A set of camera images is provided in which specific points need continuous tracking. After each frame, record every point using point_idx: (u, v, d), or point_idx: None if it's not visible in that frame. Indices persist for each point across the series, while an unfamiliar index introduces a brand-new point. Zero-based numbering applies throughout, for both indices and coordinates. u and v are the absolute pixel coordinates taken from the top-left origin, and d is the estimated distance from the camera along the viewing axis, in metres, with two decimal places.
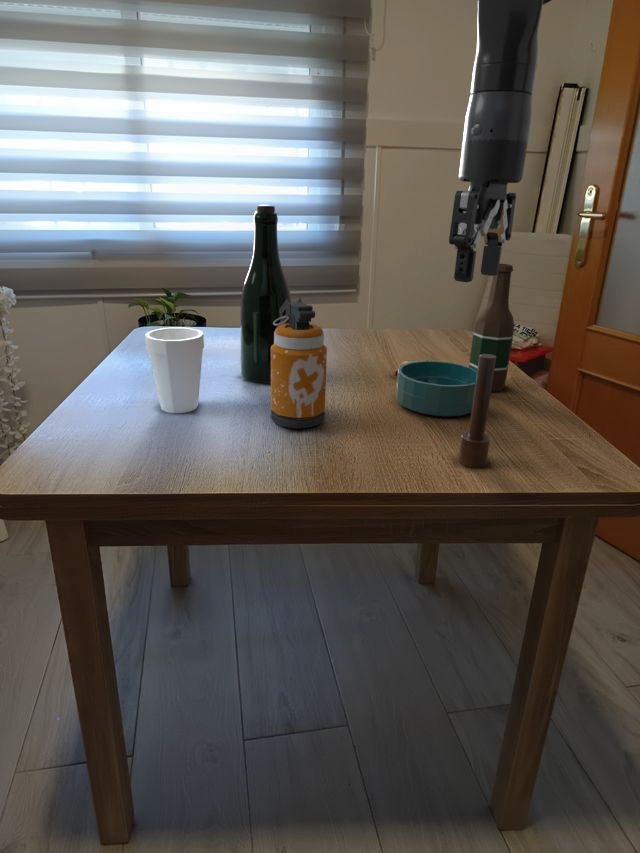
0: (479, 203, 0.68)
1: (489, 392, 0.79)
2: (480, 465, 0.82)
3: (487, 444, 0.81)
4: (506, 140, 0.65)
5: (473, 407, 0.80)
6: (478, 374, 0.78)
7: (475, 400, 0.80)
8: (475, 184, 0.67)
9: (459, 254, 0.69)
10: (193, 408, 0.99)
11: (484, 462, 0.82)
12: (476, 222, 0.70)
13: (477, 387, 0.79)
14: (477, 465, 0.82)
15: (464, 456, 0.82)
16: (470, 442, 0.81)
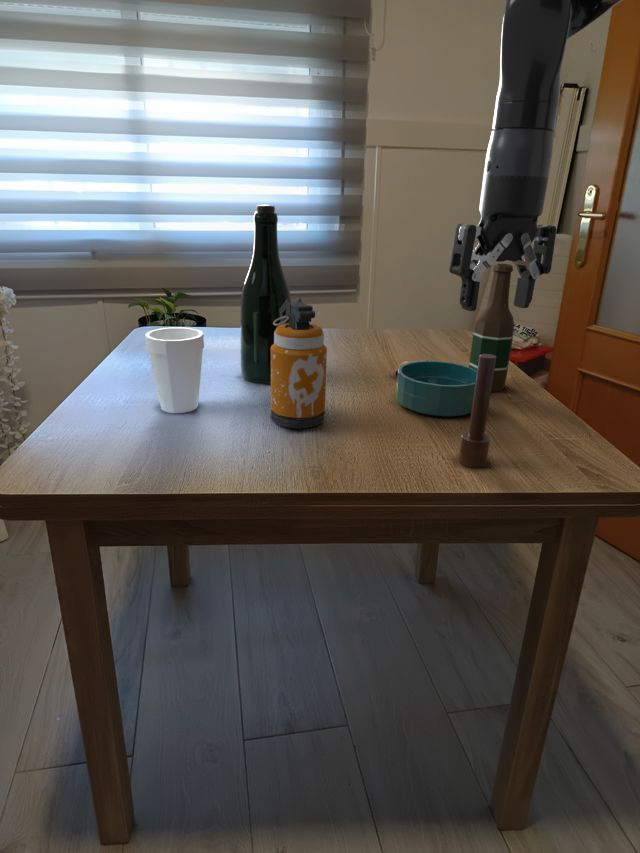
0: (483, 236, 0.69)
1: (489, 392, 0.79)
2: (480, 465, 0.82)
3: (487, 444, 0.81)
4: (510, 176, 0.66)
5: (473, 407, 0.80)
6: (478, 374, 0.78)
7: (475, 400, 0.80)
8: (483, 217, 0.70)
9: (463, 283, 0.72)
10: (193, 408, 0.99)
11: (484, 462, 0.82)
12: (487, 254, 0.71)
13: (477, 387, 0.79)
14: (477, 465, 0.82)
15: (464, 456, 0.82)
16: (470, 442, 0.81)
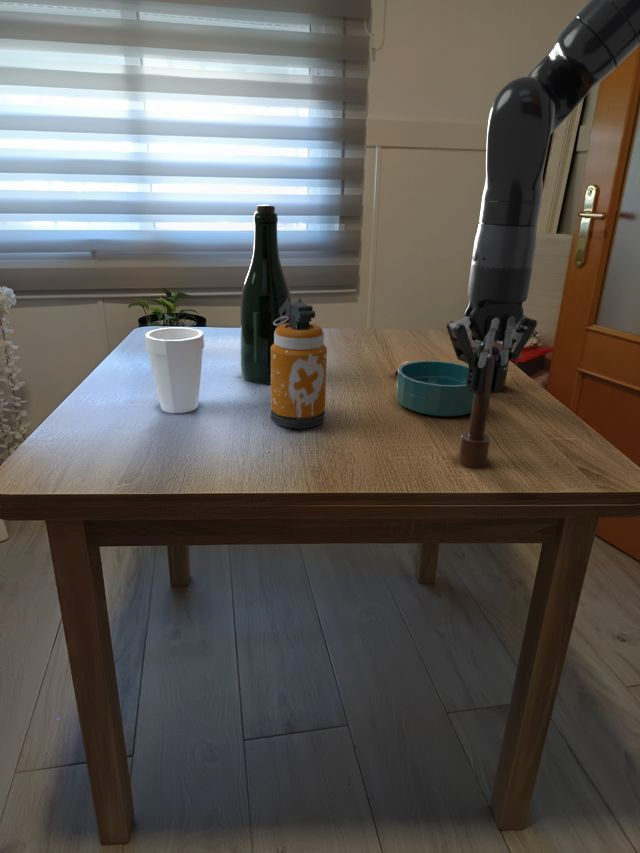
0: (472, 320, 0.73)
1: (489, 392, 0.79)
2: (480, 465, 0.82)
3: (487, 444, 0.81)
4: (496, 268, 0.70)
5: (473, 407, 0.80)
6: None
7: (475, 400, 0.80)
8: (471, 302, 0.74)
9: (469, 368, 0.78)
10: (193, 408, 0.99)
11: (484, 462, 0.82)
12: (475, 335, 0.75)
13: None
14: (477, 465, 0.82)
15: (464, 456, 0.82)
16: (470, 442, 0.81)
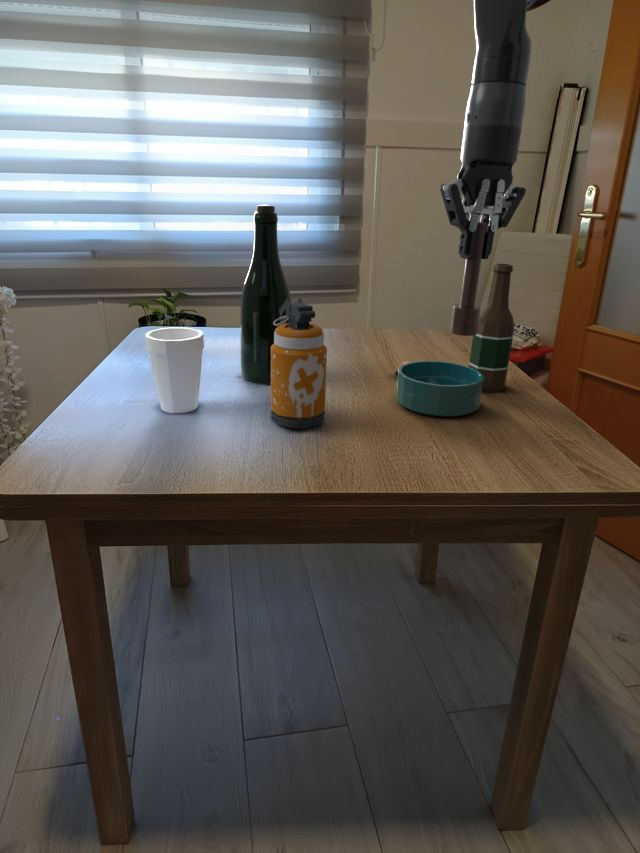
0: (464, 181, 0.77)
1: (479, 258, 0.83)
2: (471, 333, 0.86)
3: (478, 312, 0.85)
4: (487, 125, 0.74)
5: (464, 275, 0.84)
6: None
7: (466, 267, 0.84)
8: (463, 164, 0.77)
9: (461, 234, 0.82)
10: (193, 408, 0.99)
11: (475, 330, 0.86)
12: (467, 199, 0.79)
13: None
14: (468, 333, 0.86)
15: (455, 325, 0.86)
16: (461, 310, 0.85)
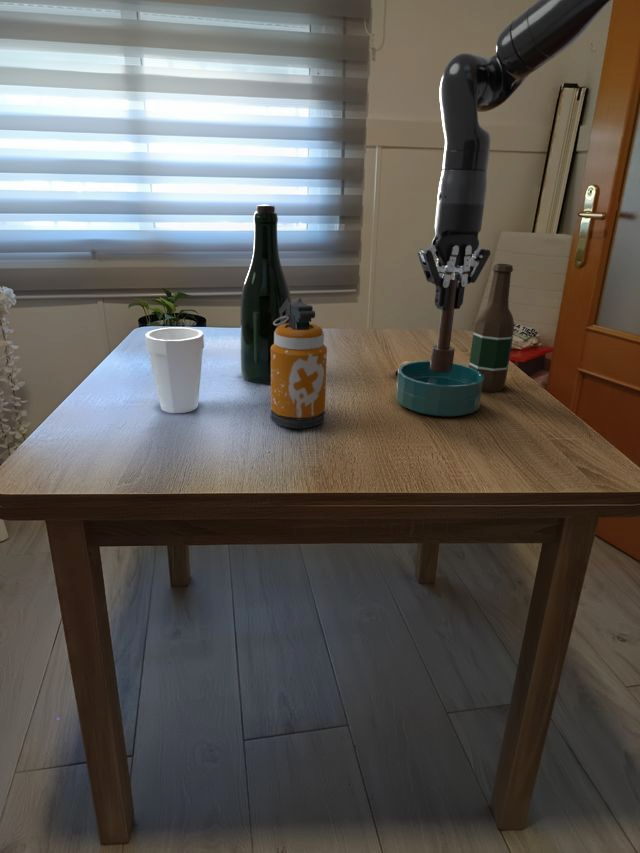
0: (437, 247, 0.93)
1: (452, 308, 0.98)
2: (446, 370, 1.02)
3: (452, 352, 1.01)
4: (455, 204, 0.90)
5: (440, 322, 1.00)
6: None
7: (442, 316, 0.99)
8: (437, 233, 0.93)
9: (436, 289, 0.97)
10: (193, 408, 0.99)
11: (450, 368, 1.02)
12: (441, 261, 0.95)
13: None
14: (444, 370, 1.02)
15: (433, 363, 1.02)
16: (438, 351, 1.01)
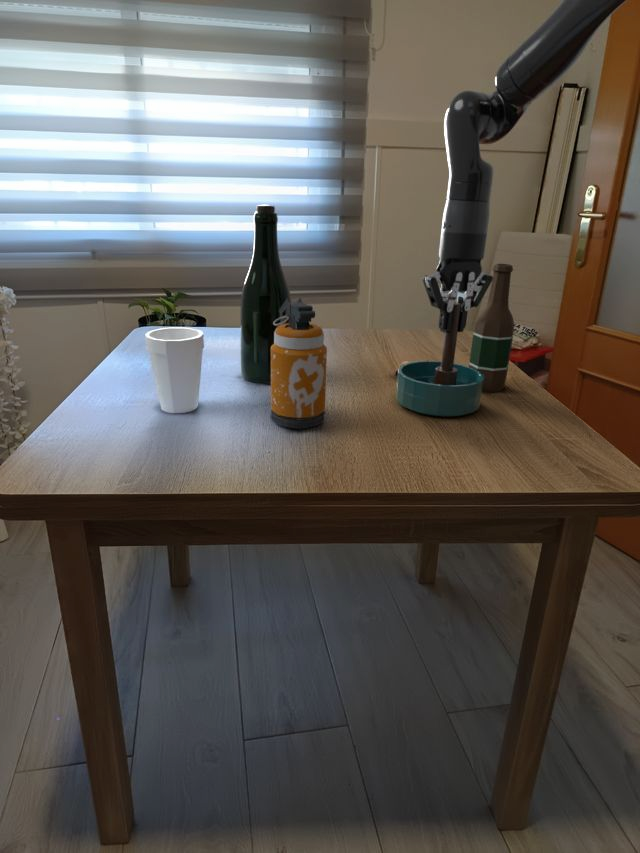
0: (441, 274, 0.96)
1: (456, 332, 1.02)
2: None
3: (455, 374, 1.04)
4: (459, 233, 0.93)
5: (444, 344, 1.03)
6: None
7: (445, 339, 1.03)
8: (441, 260, 0.96)
9: (440, 313, 1.01)
10: (193, 408, 0.99)
11: None
12: (445, 286, 0.98)
13: None
14: None
15: None
16: (441, 372, 1.04)
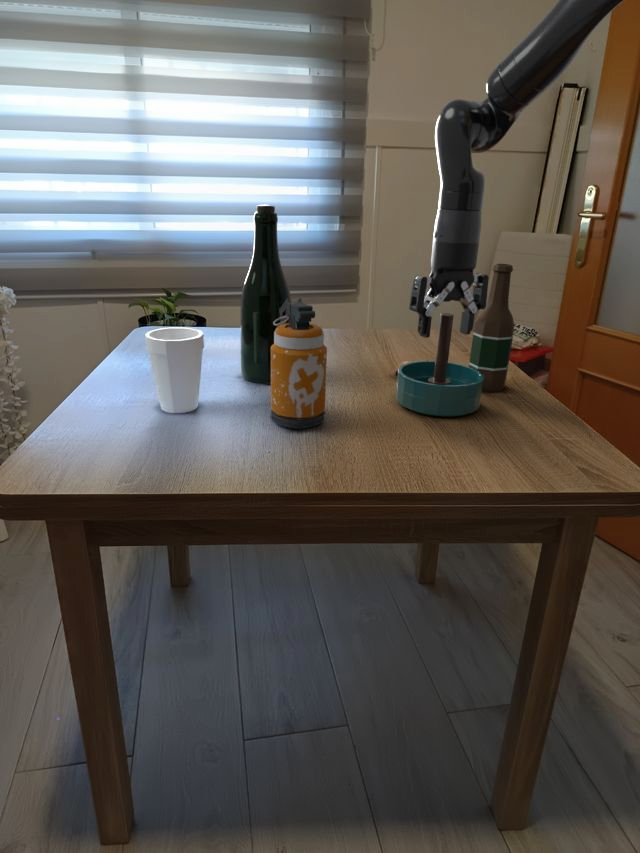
0: (433, 284, 0.95)
1: (448, 343, 1.01)
2: None
3: None
4: (450, 242, 0.92)
5: (436, 355, 1.02)
6: (440, 329, 1.00)
7: (438, 350, 1.02)
8: (433, 270, 0.96)
9: (419, 317, 0.98)
10: (193, 408, 0.99)
11: None
12: (437, 296, 0.97)
13: (439, 339, 1.01)
14: None
15: None
16: (434, 383, 1.03)
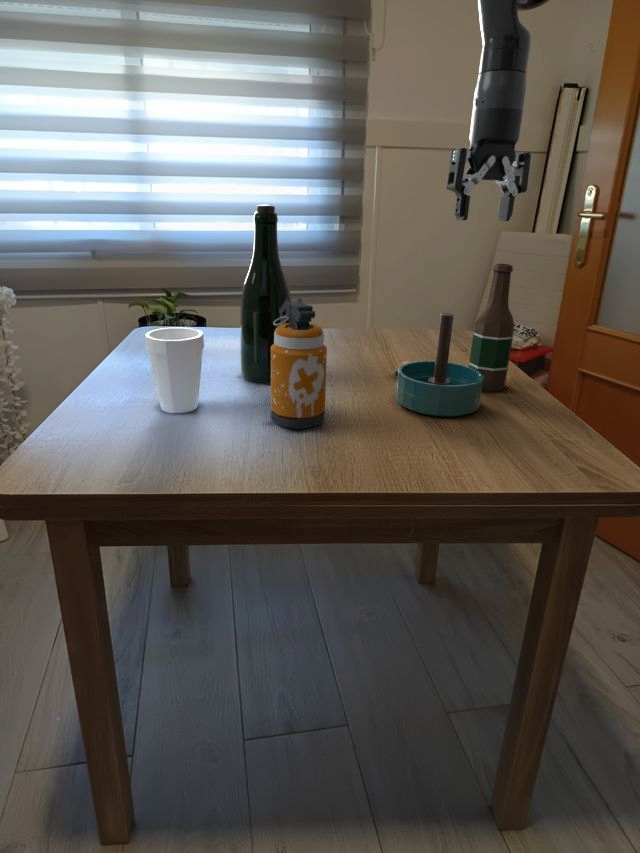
0: (472, 158, 0.89)
1: (448, 343, 1.01)
2: None
3: None
4: (493, 108, 0.85)
5: (436, 355, 1.02)
6: (440, 329, 1.00)
7: (438, 350, 1.02)
8: (472, 143, 0.89)
9: (457, 198, 0.91)
10: (193, 408, 0.99)
11: None
12: None
13: (439, 339, 1.01)
14: None
15: None
16: (434, 383, 1.03)
